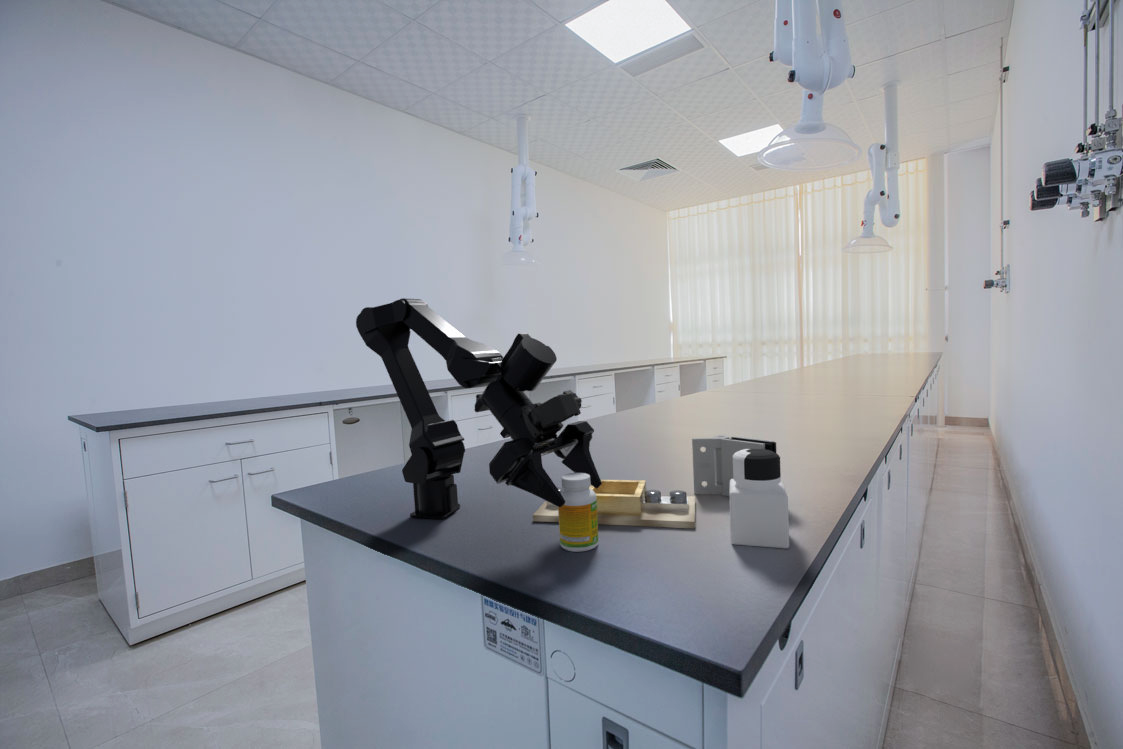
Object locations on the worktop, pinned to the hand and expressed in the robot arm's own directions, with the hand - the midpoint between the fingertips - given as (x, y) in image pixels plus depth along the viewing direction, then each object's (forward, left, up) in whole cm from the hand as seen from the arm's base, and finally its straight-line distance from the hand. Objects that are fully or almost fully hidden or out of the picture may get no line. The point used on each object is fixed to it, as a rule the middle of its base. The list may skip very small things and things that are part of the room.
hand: (582, 495), depth 68 cm
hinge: (+21, +24, -7) cm, 33 cm away
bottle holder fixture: (+2, +14, -7) cm, 16 cm away
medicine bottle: (+23, +6, -7) cm, 25 cm away
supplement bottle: (-1, 0, -7) cm, 7 cm away
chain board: (+2, +14, -7) cm, 16 cm away
